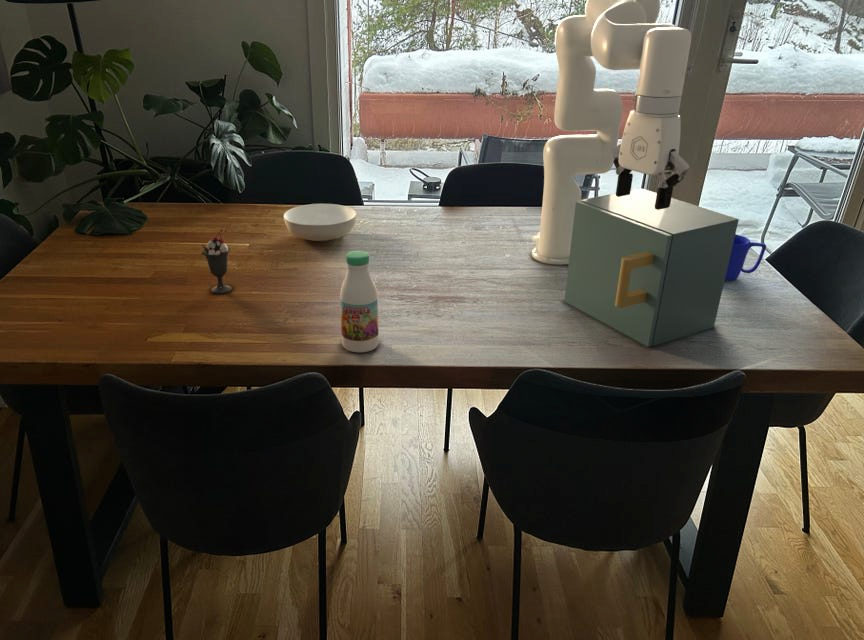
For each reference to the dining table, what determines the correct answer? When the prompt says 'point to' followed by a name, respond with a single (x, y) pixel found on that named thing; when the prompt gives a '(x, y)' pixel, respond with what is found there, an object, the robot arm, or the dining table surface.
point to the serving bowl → (320, 221)
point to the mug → (741, 257)
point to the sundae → (217, 262)
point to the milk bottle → (359, 305)
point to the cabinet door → (617, 271)
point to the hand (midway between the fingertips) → (641, 201)
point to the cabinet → (682, 258)
